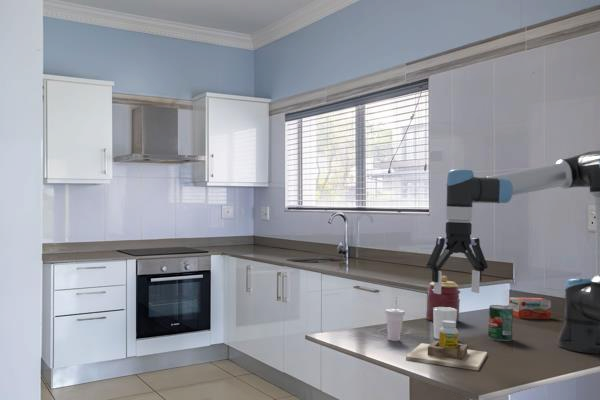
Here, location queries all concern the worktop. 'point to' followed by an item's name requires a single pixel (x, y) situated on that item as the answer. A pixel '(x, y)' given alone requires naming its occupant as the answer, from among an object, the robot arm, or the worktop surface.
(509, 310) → the canned tomato
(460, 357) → the socket board
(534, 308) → the medicine box
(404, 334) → the worktop surface
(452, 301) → the canister
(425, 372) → the worktop surface
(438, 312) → the white cup
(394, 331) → the smoothie
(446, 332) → the supplement bottle
